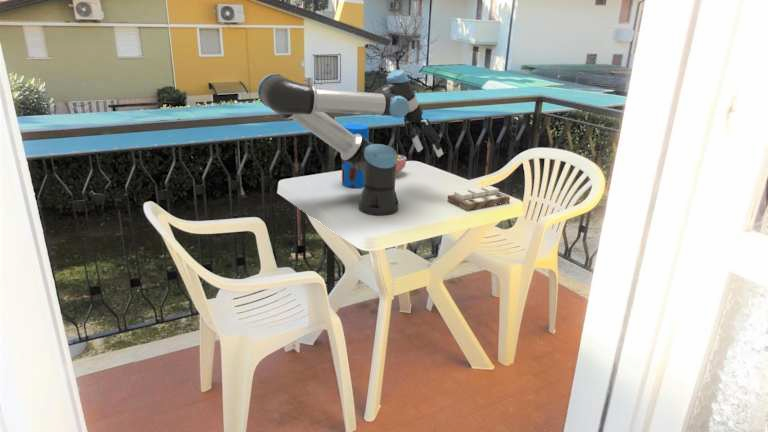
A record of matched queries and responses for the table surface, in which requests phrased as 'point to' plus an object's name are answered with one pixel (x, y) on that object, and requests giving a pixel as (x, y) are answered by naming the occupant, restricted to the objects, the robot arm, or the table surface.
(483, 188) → the button right
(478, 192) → the button middle
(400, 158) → the cell model
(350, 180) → the thermos
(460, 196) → the button left
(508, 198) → the button board
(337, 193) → the table surface
